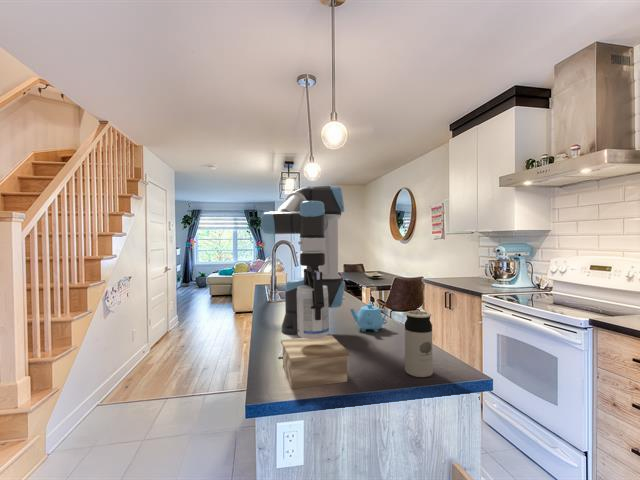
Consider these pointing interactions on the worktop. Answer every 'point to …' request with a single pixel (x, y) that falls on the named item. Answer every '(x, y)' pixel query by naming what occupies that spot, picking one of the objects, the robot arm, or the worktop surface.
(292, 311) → the robot arm
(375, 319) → the teapot
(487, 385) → the worktop surface
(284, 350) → the wooden block
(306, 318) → the supplement tub
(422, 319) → the travel mug
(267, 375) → the worktop surface
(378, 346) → the worktop surface
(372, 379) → the worktop surface
